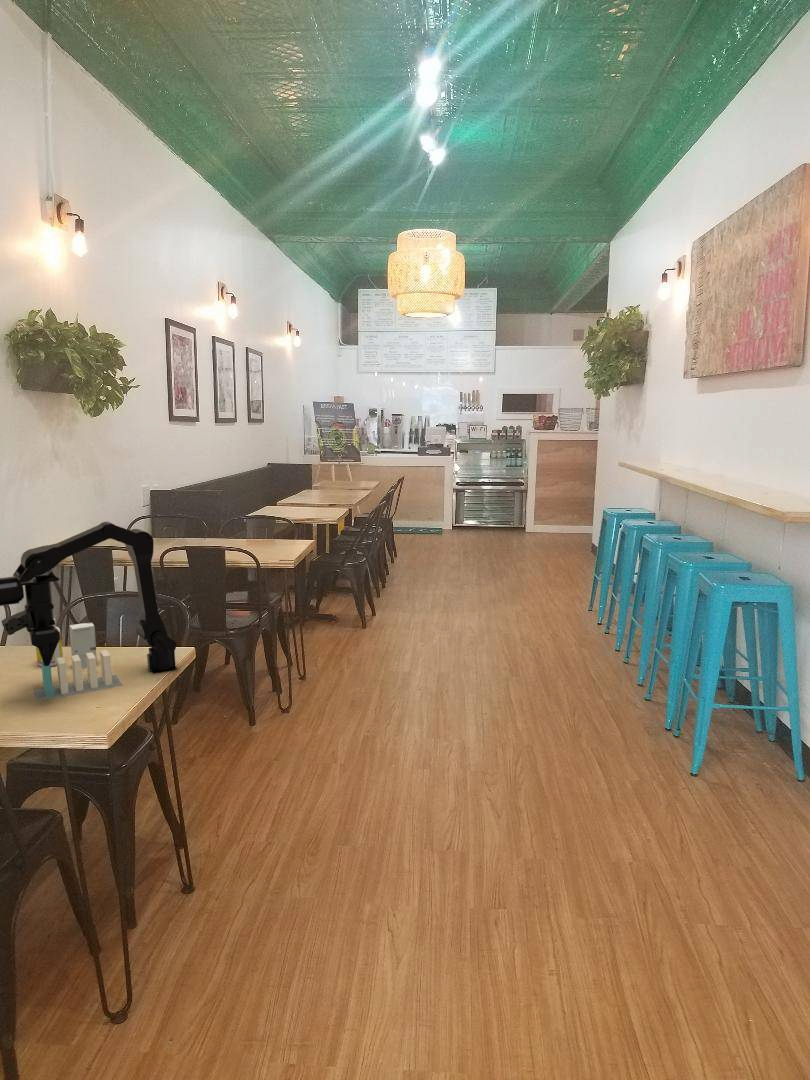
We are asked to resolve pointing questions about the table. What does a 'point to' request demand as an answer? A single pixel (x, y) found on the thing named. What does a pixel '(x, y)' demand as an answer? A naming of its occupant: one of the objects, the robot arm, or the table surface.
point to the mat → (72, 691)
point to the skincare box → (83, 641)
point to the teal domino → (47, 680)
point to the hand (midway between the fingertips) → (44, 660)
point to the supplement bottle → (57, 654)
